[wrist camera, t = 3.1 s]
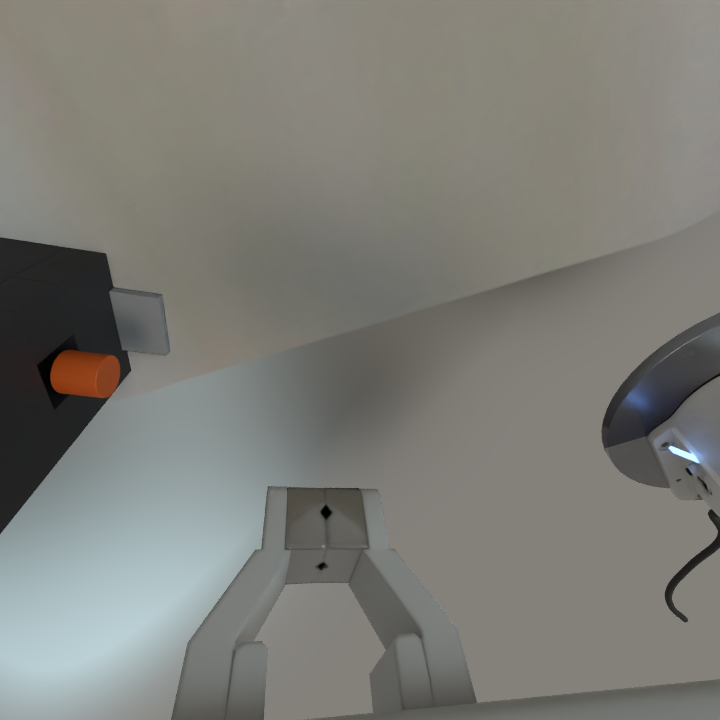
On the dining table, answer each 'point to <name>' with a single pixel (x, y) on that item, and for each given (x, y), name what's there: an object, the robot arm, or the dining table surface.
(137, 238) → the dining table surface
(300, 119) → the dining table surface
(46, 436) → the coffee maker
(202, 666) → the robot arm
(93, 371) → the power button
